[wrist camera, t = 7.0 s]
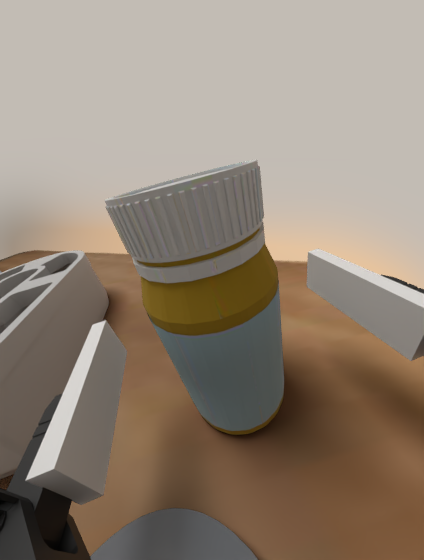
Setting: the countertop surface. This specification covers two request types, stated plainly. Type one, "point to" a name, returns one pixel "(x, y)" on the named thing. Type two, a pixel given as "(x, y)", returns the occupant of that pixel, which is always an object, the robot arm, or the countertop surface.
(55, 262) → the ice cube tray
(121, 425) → the countertop surface
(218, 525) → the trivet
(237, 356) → the bottle
